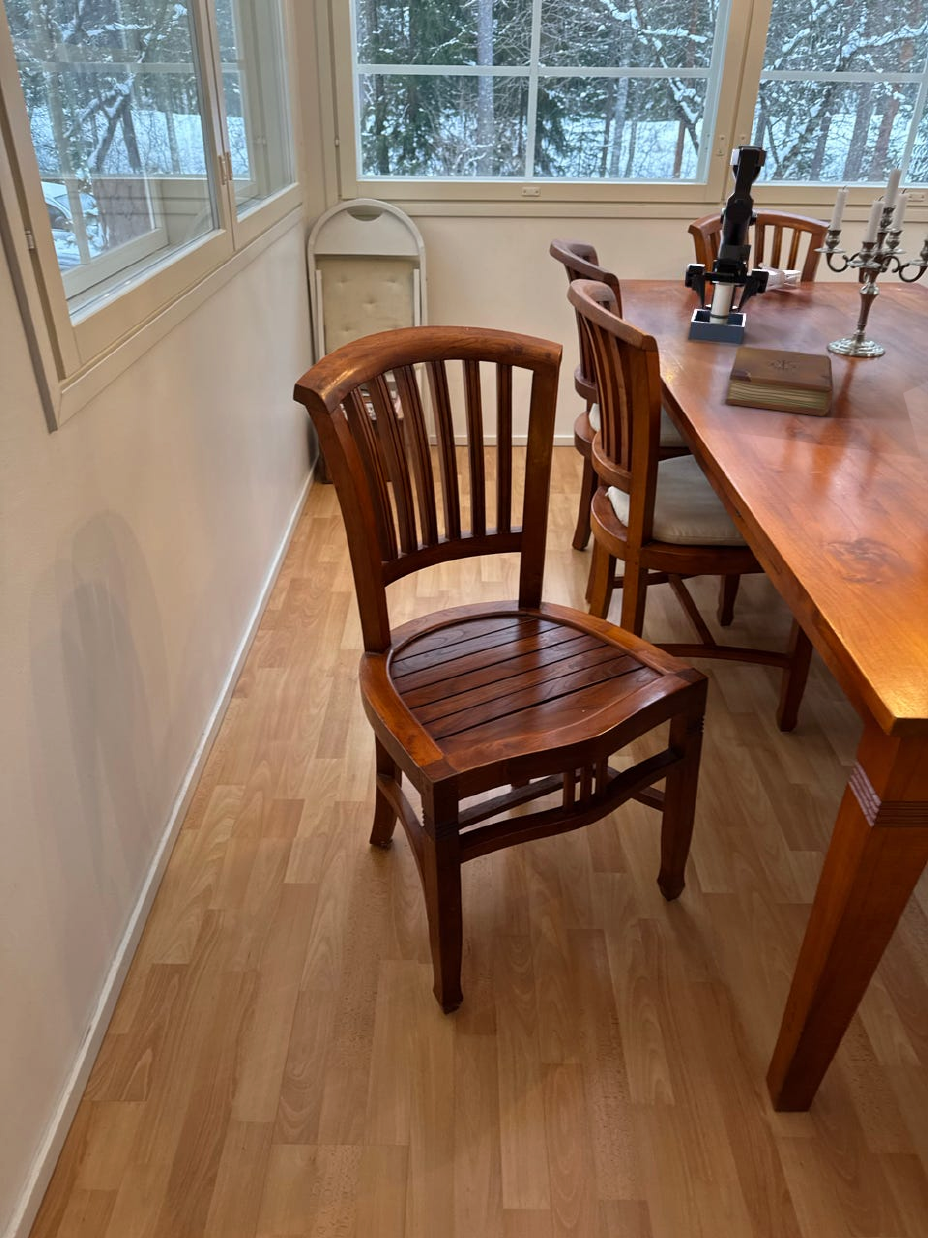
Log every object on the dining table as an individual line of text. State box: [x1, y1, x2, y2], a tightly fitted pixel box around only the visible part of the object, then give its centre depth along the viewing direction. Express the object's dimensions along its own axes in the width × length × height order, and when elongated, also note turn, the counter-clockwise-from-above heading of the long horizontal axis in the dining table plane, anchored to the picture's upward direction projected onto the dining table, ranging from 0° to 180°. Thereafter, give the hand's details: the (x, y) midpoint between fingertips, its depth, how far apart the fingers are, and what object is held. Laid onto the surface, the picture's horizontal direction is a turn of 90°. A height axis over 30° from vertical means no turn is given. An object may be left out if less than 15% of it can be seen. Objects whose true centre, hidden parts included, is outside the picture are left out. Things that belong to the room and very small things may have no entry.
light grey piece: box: [709, 282, 734, 324], centre depth 206 cm, size 4×4×12 cm
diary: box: [724, 345, 834, 417], centre depth 174 cm, size 23×19×6 cm
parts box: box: [687, 308, 747, 345], centre depth 210 cm, size 13×12×5 cm
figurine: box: [747, 262, 802, 293], centre depth 255 cm, size 9×12×20 cm
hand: (720, 310), depth 205 cm, fingers open, 8 cm apart
